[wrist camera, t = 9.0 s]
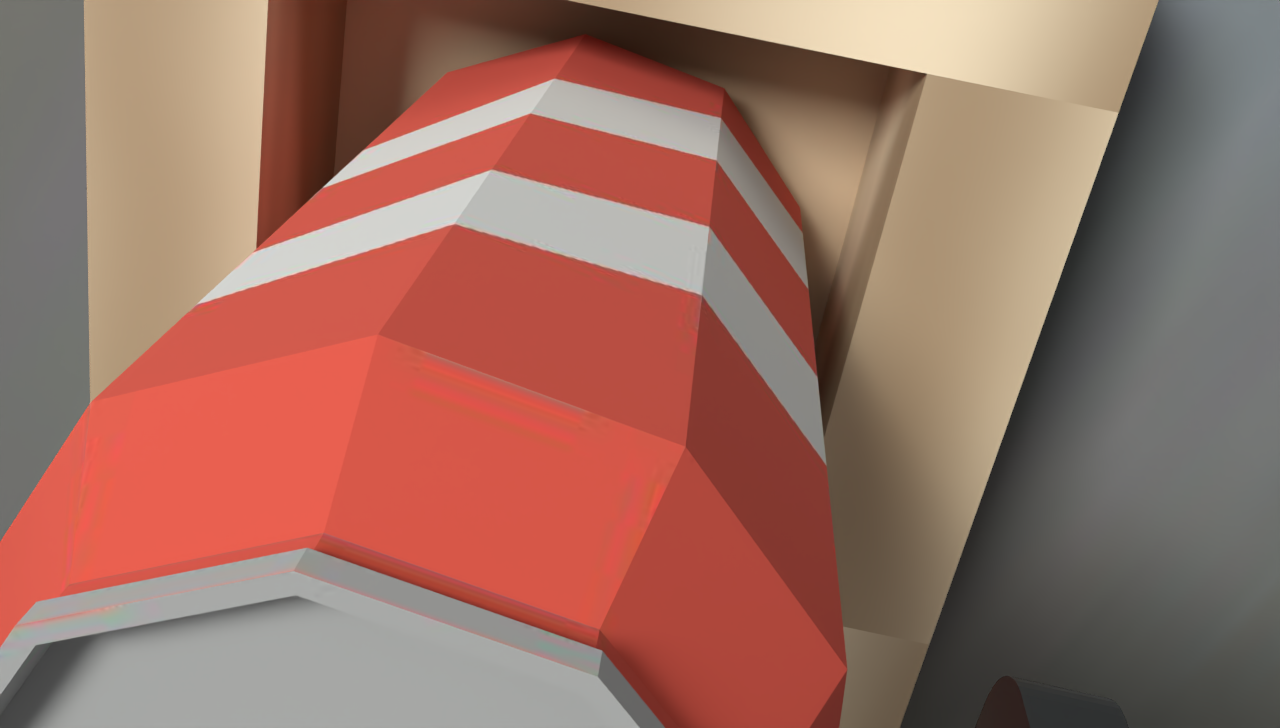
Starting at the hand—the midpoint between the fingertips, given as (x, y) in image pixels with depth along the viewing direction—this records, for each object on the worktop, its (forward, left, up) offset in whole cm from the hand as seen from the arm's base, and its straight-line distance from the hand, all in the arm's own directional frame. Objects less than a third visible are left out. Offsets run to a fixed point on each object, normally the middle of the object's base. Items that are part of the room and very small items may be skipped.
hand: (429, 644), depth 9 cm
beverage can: (0, 0, -10) cm, 10 cm away
